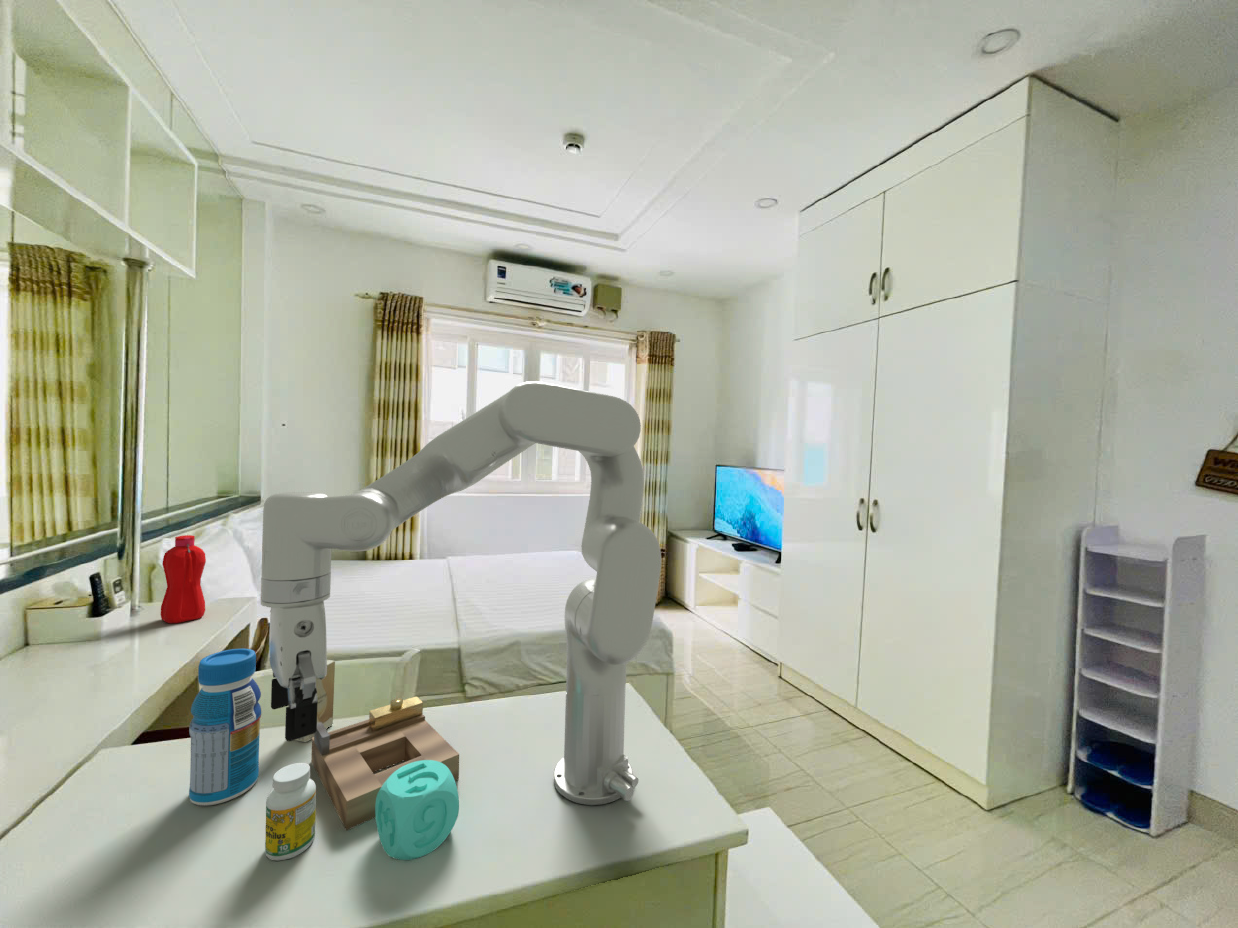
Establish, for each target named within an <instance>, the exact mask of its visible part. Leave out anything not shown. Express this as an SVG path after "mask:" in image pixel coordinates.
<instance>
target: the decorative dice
mask: <svg viewBox="0 0 1238 928" xmlns="http://www.w3.org/2000/svg"><path fill="white" fill-rule="evenodd" d="M459 799H460V797H459V791H458V787H457V783H456V781H455V780H454V777H453V775H452V773H451V771H450V770H449V768H448V767H447V766H446V765H444V764H443V763H441V762H438V761H434V760H421V761H416V762H412V763H409V764H407V765H404V766H402V767H401V768H399V769H397V770H396V771H395V772H394V773H393V774H392V775H391V776H390V777H389V778H388V779H387V780H386V781H385V783H384V784H383V785H382V787H381V789H380V790H379V792H378V794H377V797H376V804H375V816H376V817H375V822H376V824H375V825H376V830H377V833H378V837H379V841H380V843H381V846H382V848H383V850H384V851H385V853H386V855H387V856H389V857H391V858H394V859H396V860H399V861H400V860H401V861H410V860H415V859H420V858H421V857H424V856H427V855H428V854H430V853H432V852H434V851H435V850H436V849H437V848H438V847H439V846H441V844H443V842H444V841H446V839H447V838H448V837H449V835H450V834H451V832H452V830H453V828H454V826H455V825H456V821H457V819H458V817H459V811H460V800H459Z"/></svg>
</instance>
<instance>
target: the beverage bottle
mask: <svg viewBox="0 0 1238 928" xmlns="http://www.w3.org/2000/svg"><path fill="white" fill-rule="evenodd" d="M256 660H257V655H256V652H255V650H253V649H250V648H231V649H226V650H222V651H218V652H214V653H212V654H208V655H207V656H205V657H203V658H202V659H200V662H199V663H198V673H197V677H198V679H197V680H198V681H197V682H198V684H199V686H200V687H201V689H200V690H199V691H198V693H197V694H196V696H195V697H194V700H192V701H193V702H192V704H191V707H190V713H191V715H192V716H193V718H192V719H191V721H190V723H189V728H188V729H189V730H188V732H189V736H190V766H189V767H190V768H189V769H190V770H189V771H190V772H189V773H190V776H189V789H188V797H189V800H190V802H191V803H192V804H195V805H197V806H213V805H219V804H222V803H225V802H226V803H227V802H228V801H231V800H233V799H236V798H238V797H239V796H241V795H243V794H245V793H246V792H247V791H249V790H251V788H253V786H255V784H256V783H257V781H258V780H259V776H260V775H259V774H260V768H259V764H260V763H259V761H260V759H259V758H260V757H259V756H260V734H261V733H260V729H261V717H262V706H261V704H260V703H259V701H260V699H261V697H262V694H261V693H262V692H261V688H260V687H259V685H258V682H256V681H255V680H254V678H252V677H253V676H254V675H255V673H256V668H257V667H256V665H257V661H256Z"/></svg>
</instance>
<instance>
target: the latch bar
mask: <svg viewBox="0 0 1238 928" xmlns="http://www.w3.org/2000/svg"><path fill="white" fill-rule="evenodd" d="M423 710H424V702H423V701H422V700H421V699H420V698H419V697H418V696H413V697H409V698H406V699H403V698H401V697H398V698H393V699H391V700H390V704H388V705H384V706H380V707H377V708H375V709H371V710H369V714H368V715H369V716H368V717H369V718H368V719H369V726H370V727H371V728H372V730H373V731H377V730H380V729H383V728H386V727H389V726H392V725H395V724H398V723H401V722H403V721H406V720H409V719H412V718H415V717H418V716H421V715H424V713H423Z"/></svg>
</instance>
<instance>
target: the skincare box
mask: <svg viewBox="0 0 1238 928" xmlns="http://www.w3.org/2000/svg"><path fill="white" fill-rule="evenodd" d="M335 670H336V660H331V659H327V675H326V677H325V678H324V679H317V678H316V688H317V689H316V690H317V700H318V704H317V723H320V722H322V724H323V725H324V727H325V729H326V730H328V729H329V728H331V727H332V726H333V725H332V724H334V723H333V722H334V704H335V703H334V701H335V698H334V697H335V673H336V672H335ZM300 679H301V678H300ZM300 689H301V686H300ZM287 707H289V706H287ZM331 725H332V726H331ZM330 726H331V727H330ZM328 727H329V728H328ZM327 728H328V729H327ZM312 737H314V734H311V735H308V736H305V737H301V738H298V739H295V740H294V741H295V742H296V741H298V742H305V743H308V742H309V741H310V740H311V741H312Z"/></svg>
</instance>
